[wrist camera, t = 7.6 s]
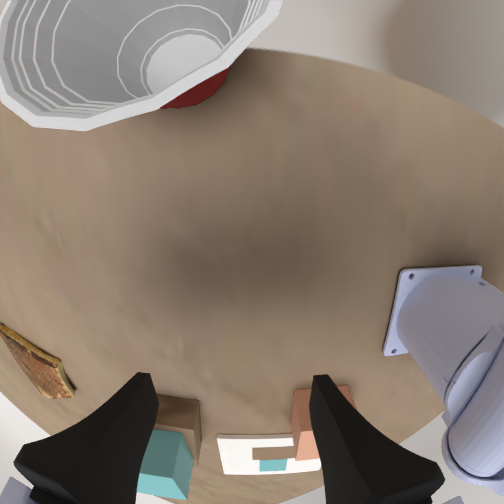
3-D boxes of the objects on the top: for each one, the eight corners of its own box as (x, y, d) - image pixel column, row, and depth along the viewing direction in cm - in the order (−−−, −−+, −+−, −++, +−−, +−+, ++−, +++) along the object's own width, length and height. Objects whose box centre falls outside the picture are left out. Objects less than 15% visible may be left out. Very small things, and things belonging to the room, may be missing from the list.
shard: (0, 319, 22) (-8, 326, 21) (29, 303, 21) (19, 311, 20) (49, 391, 25) (43, 400, 24) (85, 387, 24) (79, 398, 23)
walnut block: (199, 398, 24) (193, 430, 20) (202, 437, 26) (197, 466, 22) (130, 386, 24) (117, 414, 20) (141, 427, 26) (132, 453, 22)
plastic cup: (225, 173, 18) (176, 192, 6) (91, 118, 16) (-41, 101, 5) (298, 37, 15) (347, -80, 3) (161, -6, 13) (97, -101, 2)
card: (330, 429, 25) (332, 434, 25) (318, 466, 28) (319, 470, 27) (217, 434, 25) (216, 439, 25) (224, 470, 28) (224, 474, 27)
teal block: (182, 432, 20) (172, 478, 16) (193, 459, 22) (187, 500, 17) (130, 426, 20) (114, 467, 16) (146, 454, 22) (135, 491, 17)
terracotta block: (347, 384, 23) (361, 423, 18) (338, 417, 25) (349, 453, 20) (294, 389, 23) (301, 431, 19) (290, 422, 25) (295, 461, 20)
